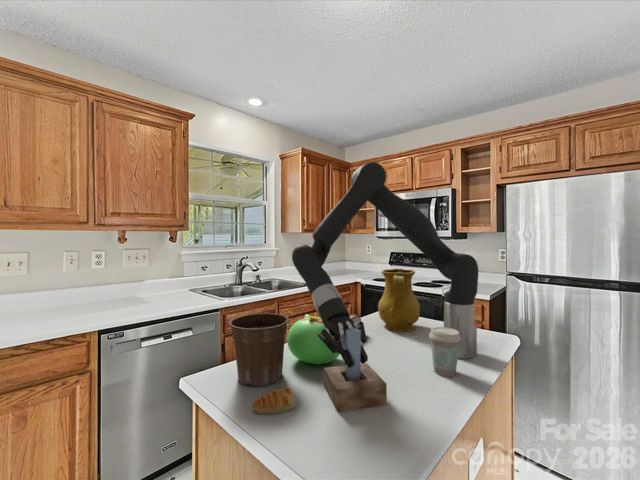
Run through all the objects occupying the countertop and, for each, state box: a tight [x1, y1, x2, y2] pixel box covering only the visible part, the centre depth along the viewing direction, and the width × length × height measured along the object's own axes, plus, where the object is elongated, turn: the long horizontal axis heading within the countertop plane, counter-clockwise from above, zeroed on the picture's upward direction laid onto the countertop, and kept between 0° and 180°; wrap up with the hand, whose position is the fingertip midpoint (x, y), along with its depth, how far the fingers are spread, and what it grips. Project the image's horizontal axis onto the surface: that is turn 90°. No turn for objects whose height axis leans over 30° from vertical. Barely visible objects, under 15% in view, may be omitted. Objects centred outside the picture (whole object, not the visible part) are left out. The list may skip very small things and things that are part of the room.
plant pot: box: [228, 312, 289, 387], centre depth 89 cm, size 16×16×16 cm
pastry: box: [252, 386, 296, 415], centre depth 73 cm, size 9×7×4 cm
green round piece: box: [286, 313, 341, 365], centre depth 100 cm, size 18×17×15 cm
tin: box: [345, 313, 362, 342], centre depth 121 cm, size 15×3×8 cm, turn 144°
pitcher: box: [377, 268, 421, 333], centre depth 134 cm, size 17×19×25 cm
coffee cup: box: [428, 326, 461, 377], centre depth 91 cm, size 8×8×12 cm
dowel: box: [345, 328, 362, 381], centre depth 78 cm, size 4×4×14 cm
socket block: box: [323, 362, 388, 413], centre depth 78 cm, size 12×12×5 cm
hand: (358, 363), depth 77 cm, fingers closed on dowel, 3 cm apart
